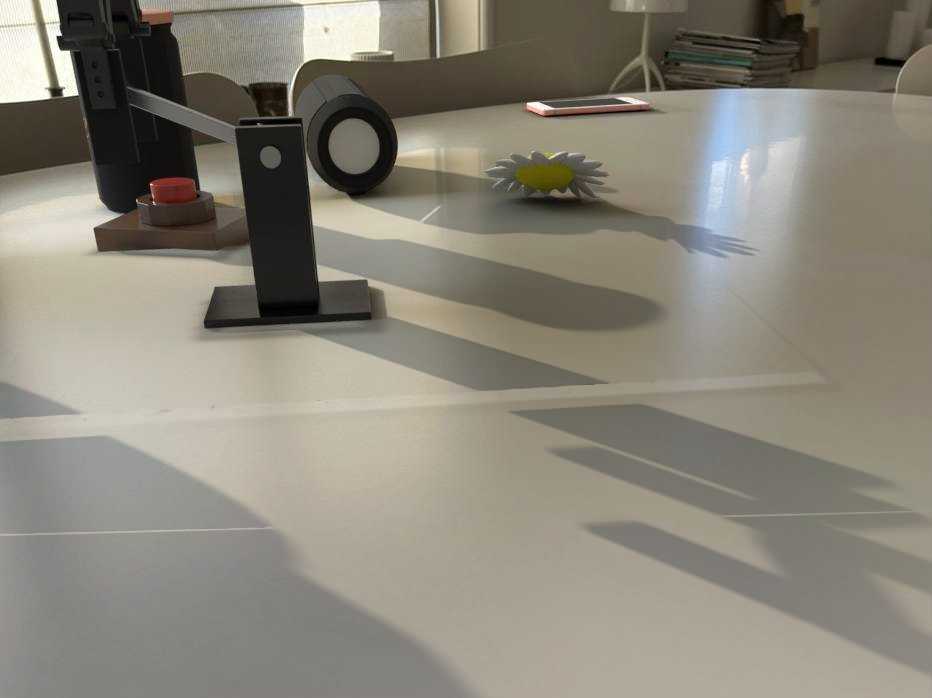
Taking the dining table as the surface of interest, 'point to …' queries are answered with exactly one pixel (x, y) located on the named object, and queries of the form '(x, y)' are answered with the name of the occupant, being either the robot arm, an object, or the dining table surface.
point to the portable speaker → (346, 134)
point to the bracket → (281, 238)
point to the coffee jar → (174, 139)
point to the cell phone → (587, 106)
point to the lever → (181, 114)
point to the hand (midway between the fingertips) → (128, 151)
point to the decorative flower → (547, 173)
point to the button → (173, 190)
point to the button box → (174, 226)
